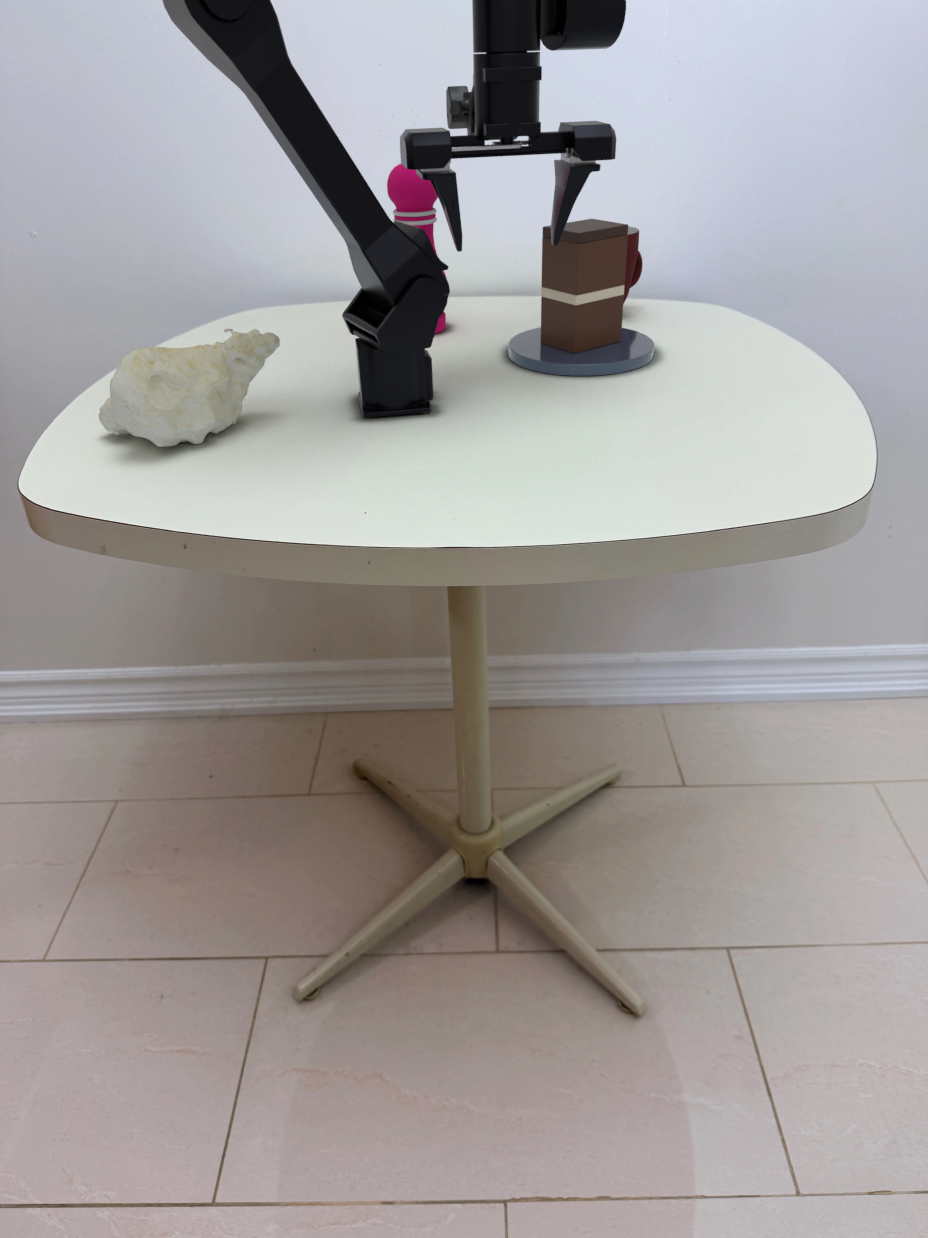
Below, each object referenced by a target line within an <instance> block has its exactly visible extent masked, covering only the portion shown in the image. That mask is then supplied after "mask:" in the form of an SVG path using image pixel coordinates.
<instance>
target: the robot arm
mask: <svg viewBox="0 0 928 1238" xmlns="http://www.w3.org/2000/svg"><path fill="white" fill-rule="evenodd" d="M162 3H163V7H164V9H165V11H166V13H167V15H168V17H169V19H170V20H171V22H172V23H173V24H174V25H175V27H176V28H178V30H179V31H180V32H181V33H182V34H183V35H184V36H185V37H186V39H188V41H190V43H191V44H192V45H193V46H194V47H195V48H196V49H197V50H198V51H199V53H201V55H202V56H204V58H205V59H206V60H207V61H208V62H210V63H211V64H212V65H213V66H214V67H215V68H216V69H217V70H218V71H220V72H221V73H222V74H223V75H224V76H225V77H226V78H227V79H229V80H230V81H231V82H232V83H233V84H234V85H235V86H236V87H237V88H239V90H240V91H241V92H242V93H243V94H244V96H245V97H246V98H247V100H248V102H250V104H251V105H252V107H253V108H254V110H255V111H256V113H257V114H258V116H259V117H260V119H261V120H262V122H263V123H264V125H265V126H266V128H267V129H268V130H269V132H270V133H271V134H272V136H273V138H274V139H275V141H276V142H277V144H278V145H279V147H280V148H281V150H282V151H283V152H284V154H285V155H286V157H287V158H288V160H289V161H290V162H291V165H293V167H294V169H295V170H296V171H297V173H298V174H299V176H300V177H301V179H302V180H303V182H304V183H305V184H306V186H307V188H308V189H309V190H310V192H311V194H312V195H313V196H314V198H315V199H316V200H317V202H318V203H319V205H320V206H321V208H322V209H323V211H324V212H325V214H326V215H327V217H328V218H329V220H330V221H331V223H332V224H333V226H334V227H335V228H336V230H337V231H338V233H339V235H340V236H341V237H342V239H343V240H344V242H345V245H346V247H347V251H348V255H349V258H350V262H351V265H352V266H351V267H352V270H353V273H354V275H355V277H356V278H357V281H358V283H359V285H360V289H359V290H358V292H357V293H356V294H355V296H354V297H353V298H352V300H351V301H350V302H349V304H348V305H347V307H345V309H344V311H343V312H342V314H341V316H342V320H343V321H344V323H345V325H346V328H347V330H348V333H349V334H351V335H352V336H356V338H354V339H355V340H354V341H355V353H356V364H357V375H358V385H359V387H358V388H359V391H358V393H357V395H358V396H357V397H358V402H359V406H360V411H361V416H362V417H363V418H374V417H387V416H389V417H390V416H399V415H401V416H402V415H412V414H424V413H431V411H432V405H431V403H430V401H432V400H433V399H434V380H433V379H434V378H433V359H432V356H431V354H430V352H429V351H428V350H427V349H429V348H431V347H432V345H433V342H434V338H435V334H436V333H435V330H436V327H437V323H438V319H439V317H440V316H441V315H442V314H443V312H445V309H446V306H448V299H449V296H450V293H451V290H450V289H451V288H450V284H449V281H448V279H446V278H447V275H446V273H445V274H444V273H443V272H442V271H443V270H444V271H447V270H449V265H448V264H447V263H445V262H444V261H442V260H441V259H440V257H439V256H438V254H437V255H436V253H437V252H436V253H435V251H434V249H433V247H432V244H431V242H430V239H429V237H428V236H427V234H426V232H425V231H424V230H423V229H421V228H418V227H414V226H411V225H408V224H405V223H402V222H399V221H395V222H394V221H392V220H391V218H390V217H389V215H388V214H387V212H386V211H385V209H384V208H383V205H382V204H381V203H380V201H379V199H378V198H377V196H376V195H375V193H374V192H373V190H372V188H371V187H370V185H369V183H368V182H367V181H366V179H365V178H364V176H363V174H362V173H361V171H360V170H359V168H358V167H357V165H356V163H355V161H354V160H353V159H352V157H351V155H350V154H349V152H348V151H347V149H346V148H345V146H344V144H343V143H342V141H341V139H340V138H339V136H338V134H337V133H336V131H335V130H334V128H333V127H332V125H331V124H330V123H329V120H328V119H327V117H326V116H325V114H324V112H323V110H321V108H320V106H319V104H318V103H317V102H316V100H315V98H314V96H313V95H312V93H311V92H310V90H309V89H308V87H307V86H306V84H305V83H304V81H303V79H302V77H301V76H300V75H299V73H298V72H297V70H296V68H295V67H294V65H293V63H292V61H291V59H290V57H289V53H288V49H287V46H286V43H285V42H286V41H285V38H284V36H283V31H282V28H281V24H280V20H279V17H278V15H277V12H276V10H275V8H274V5H273V3H272V0H162ZM471 4H472V5H471V7H472V8H471V9H472V44H473V45H472V52H473V54H472V60H473V62H472V65H473V69H472V71H473V74H472V87H471V90H470V91H469V87H468V86H467V85H453V86H452V85H451V86H450V85H449V86H447V87H446V91H445V96H446V97H445V99H446V100H445V101H446V102H445V105H446V121H447V122H446V123H447V128H448V129H447V128H444V127H428V128H427V127H426V128H425V127H424V128H405V130H404V131H403V132H402V134H401V135H400V136H399V151H400V152H399V155H400V164H402V165H403V166H404V167H405V168H406V169H410V170H416V174H417V175H418V176H419V177H420V178H421V179H422V180H430V182H431V184H432V185H433V187H434V190H435V192H436V194H437V196H438V198H437V199H438V200H439V202H440V206H441V208H442V210H443V214H444V216H445V220H446V223H447V226H448V229H449V232H450V235H451V239H452V242H453V244H454V247H455V250H456V251H457V252H461V253H462V251H463V229H462V219H461V210H460V208H461V207H460V200H459V199H460V198H459V190H458V181H457V172H455V171H454V170H452V169H451V164H452V160H454V159H473V158H474V159H475V158H495V157H496V158H498V157H515V156H517V157H518V156H532V155H533V156H535V155H555V154H556V155H557V154H558V155H559V154H560V159H554V160H553V167H554V168H553V169H554V189H553V200H552V210H551V211H552V212H551V222H550V225H551V244H552V245H553V246H557V245H558V243H559V240H560V238H561V235H562V233H563V230H564V228H565V225H566V223H568V220H569V217H570V215H571V213H572V210H573V208H574V205H575V204H576V201H577V199H578V197H579V195H580V193H581V191H582V190H583V187H584V186H585V184H586V182H587V180H588V178H589V177H590V175H591V174H592V173H594V172H600V171H601V167H602V165H601V164H600V163H597V161H612V160H615V159H616V151H617V134H616V130H615V129H614V128H613V127H612V125H611V124H610V123H608V122H603V121H599V120H584V121H583V120H582V121H581V120H579V121H561V122H560V123H559V126H558V129H557V130H556V131H555V130H554V131H542V121H540V97H541V96H540V87H541V85H540V84H541V82H540V81H542V76H543V75H542V74H543V71H542V70H543V67H542V65H541V43H542V45H543V46H544V47H545V48H546V49H547V50H548V51H578V50H602V49H603V50H605V49H608V48H610V47H612V46H613V45H615V43H616V42H617V40H618V39H619V38H620V35H621V33H622V30H623V28H624V24H625V20H626V13H627V0H471ZM459 129H460V130H462V129H466V132H467V133H466V135H451V131H450V130H459ZM519 137H528V139H525V140H522V139H520V140H517V139H518V138H519ZM486 141H492V144H486V143H485V142H486ZM445 275H446V276H445ZM448 295H449V296H448Z"/></svg>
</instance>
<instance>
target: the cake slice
mask: <svg viewBox="0 0 928 1238" xmlns="http://www.w3.org/2000/svg"><path fill="white" fill-rule="evenodd" d="M628 226H629V224H627V223H623V222H622V223H620V222H616V221H615V222H614V221H608V220H602V219H596V218H588V219H582V220H581V219H580V220H576V221H568V222H567V223H566V225H565V228H564V230H563V233H562V235H561V238H560V240H559V243H558V245H557V246H553V245H552V244H551V224H550V225H546V226H543V227H542V238H541V239H542V240H541V243H542V244H541V287H540V288H541V295H540V296H541V299H540V327H541V343H542V344H545V345H548V346H551V347H554V348H558V349H561V350H564V351H567V352H570V353H573V354H575V353H579V352H583V351H586V350H590V349H594V348H598V347H602V346H605V345H609V344H613V343H617V342H620V341H621V330H622V328H623V314H624V313H623V312H624V304H623V299H624V285H625V270H626V255H627V240H628V235H627V234H628Z"/></svg>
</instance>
